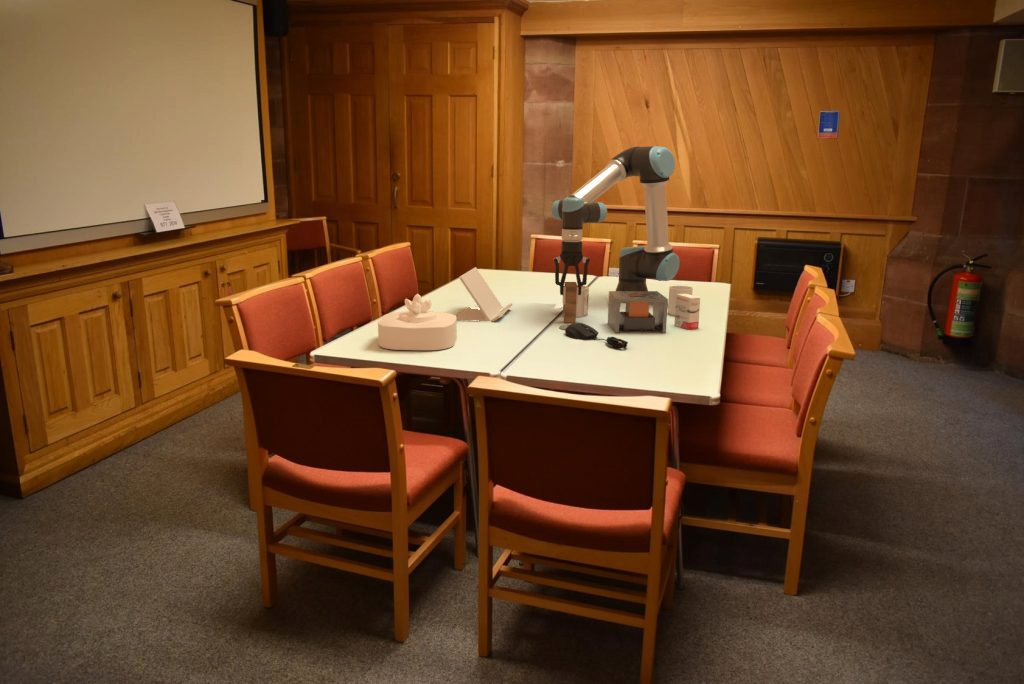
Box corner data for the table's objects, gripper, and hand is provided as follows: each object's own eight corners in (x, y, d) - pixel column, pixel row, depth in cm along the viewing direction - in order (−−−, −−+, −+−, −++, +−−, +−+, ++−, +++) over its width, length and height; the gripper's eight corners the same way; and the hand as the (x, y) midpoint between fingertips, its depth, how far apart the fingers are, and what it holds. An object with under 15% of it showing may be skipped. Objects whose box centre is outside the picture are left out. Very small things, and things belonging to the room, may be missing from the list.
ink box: (699, 328, 282) (701, 296, 279) (688, 329, 280) (690, 297, 277) (684, 324, 290) (686, 293, 287) (673, 325, 288) (675, 293, 285)
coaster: (558, 325, 284) (558, 324, 284) (579, 325, 285) (579, 324, 285) (560, 330, 277) (560, 329, 277) (582, 330, 277) (582, 329, 277)
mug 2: (688, 318, 300) (690, 290, 297) (665, 316, 303) (667, 288, 301) (694, 313, 310) (696, 285, 308) (672, 311, 314) (674, 283, 311)
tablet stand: (453, 320, 293) (453, 275, 289) (469, 308, 317) (469, 266, 313) (501, 322, 290) (501, 277, 286) (512, 310, 313) (513, 268, 309)
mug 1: (594, 315, 304) (595, 287, 301) (575, 319, 296) (576, 290, 293) (573, 311, 311) (574, 284, 308) (554, 315, 302) (554, 287, 300)
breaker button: (625, 314, 284) (625, 297, 283) (644, 314, 284) (644, 297, 283) (628, 317, 277) (629, 301, 276) (648, 317, 278) (649, 301, 276)
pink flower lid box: (451, 350, 248) (451, 301, 244) (373, 349, 248) (372, 300, 245) (458, 333, 272) (458, 287, 268) (387, 332, 273) (386, 286, 269)
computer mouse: (574, 332, 276) (575, 319, 275) (635, 347, 256) (636, 333, 254) (558, 335, 271) (558, 322, 270) (618, 350, 250) (619, 336, 249)
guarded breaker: (607, 323, 289) (609, 291, 286) (655, 323, 290) (657, 291, 287) (615, 333, 274) (616, 299, 271) (665, 333, 275) (667, 299, 272)
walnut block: (563, 321, 292) (564, 281, 289) (574, 321, 293) (575, 281, 289) (564, 323, 288) (566, 283, 285) (575, 323, 289) (576, 283, 285)
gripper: (549, 241, 279) (548, 305, 285) (596, 241, 280) (594, 305, 286) (547, 239, 286) (546, 301, 292) (593, 239, 287) (591, 301, 293)
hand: (570, 303), depth 289 cm, fingers closed on walnut block, 4 cm apart
